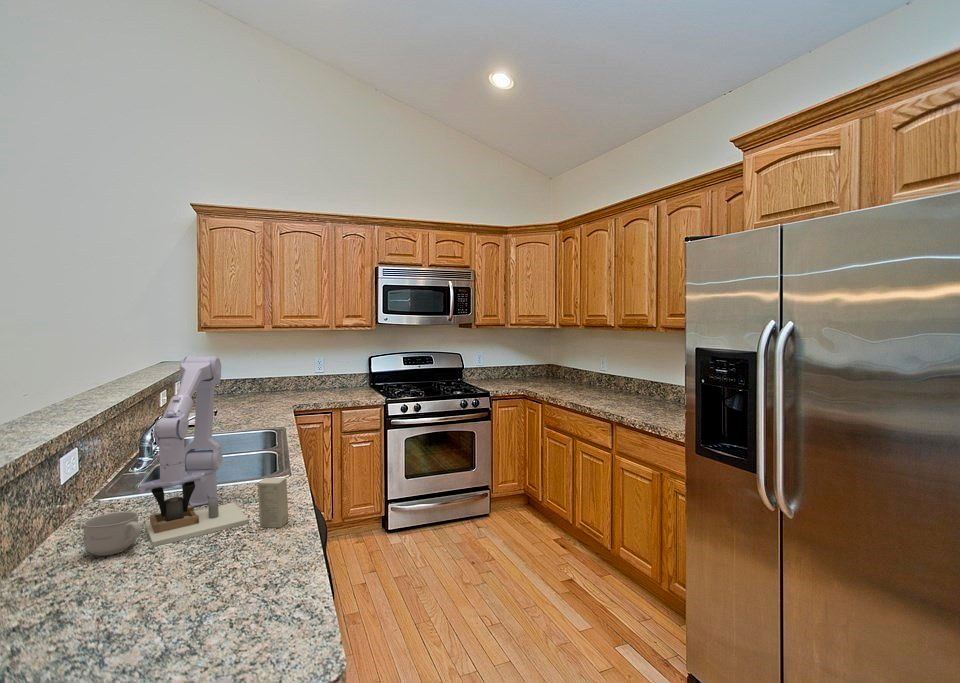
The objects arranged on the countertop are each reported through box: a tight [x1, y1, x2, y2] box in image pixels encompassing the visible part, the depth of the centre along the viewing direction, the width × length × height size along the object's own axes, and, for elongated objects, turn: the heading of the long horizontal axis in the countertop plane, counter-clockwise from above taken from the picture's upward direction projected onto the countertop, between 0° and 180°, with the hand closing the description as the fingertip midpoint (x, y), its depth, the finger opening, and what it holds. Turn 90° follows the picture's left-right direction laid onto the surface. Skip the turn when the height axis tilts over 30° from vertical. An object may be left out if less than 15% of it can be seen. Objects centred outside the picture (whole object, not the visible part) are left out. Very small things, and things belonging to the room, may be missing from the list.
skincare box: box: [257, 477, 289, 529], centre depth 135 cm, size 6×4×12 cm
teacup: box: [82, 510, 142, 557], centre depth 121 cm, size 14×11×8 cm
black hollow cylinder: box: [164, 496, 184, 522], centre depth 134 cm, size 4×4×5 cm
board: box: [144, 494, 250, 548], centre depth 136 cm, size 16×22×6 cm
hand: (174, 513), depth 134 cm, fingers closed on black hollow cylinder, 4 cm apart
